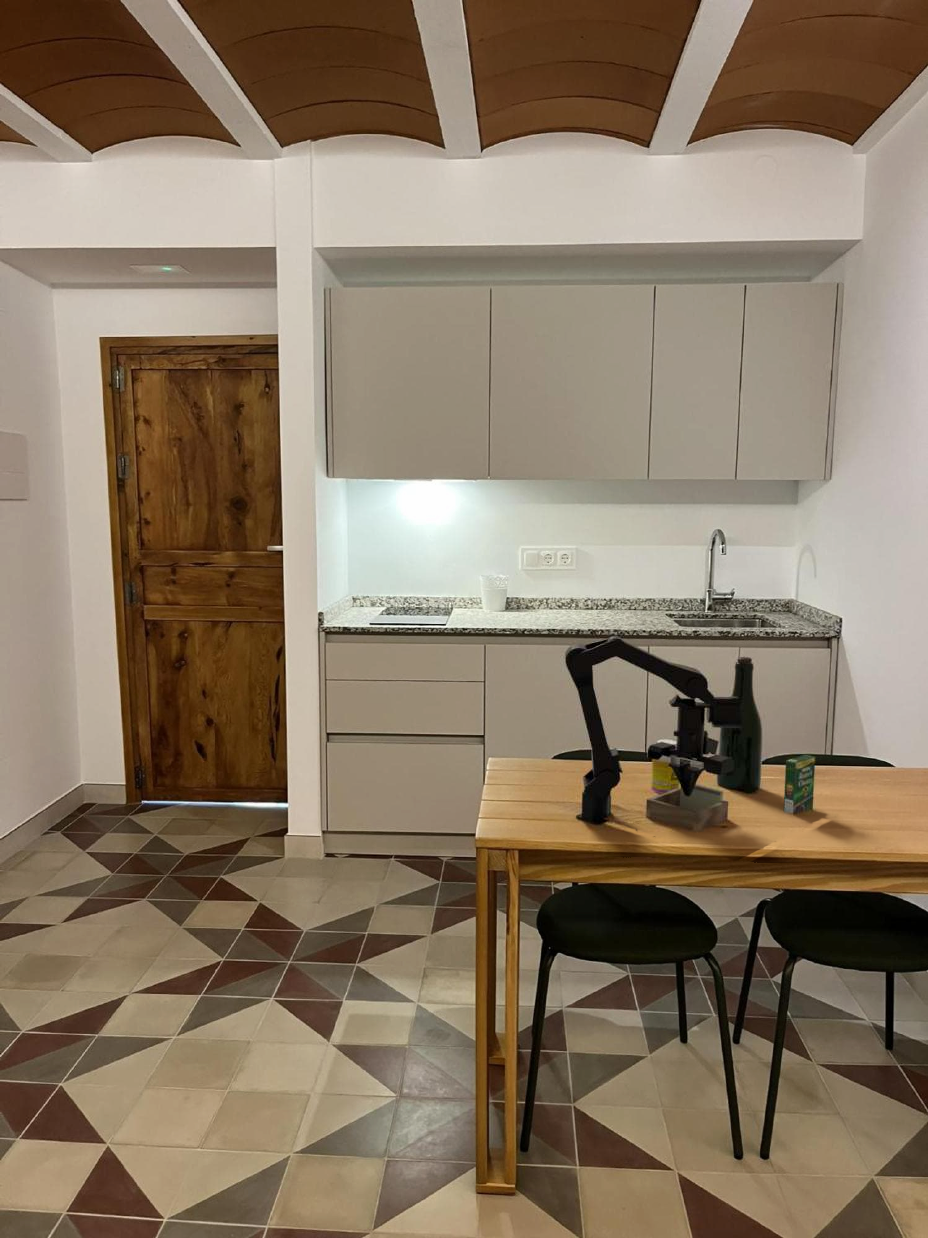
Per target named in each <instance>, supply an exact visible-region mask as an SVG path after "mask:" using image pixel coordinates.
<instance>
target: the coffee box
mask: <svg viewBox="0 0 928 1238" xmlns="http://www.w3.org/2000/svg"><path fill="white" fill-rule="evenodd" d="M815 765H816V757H815V756H812V755H809V754H803V755H800V756H797V757H794V758H790V759H787V760H785V774H784V775H785V776H784V796H783V797H784V798H783V812H784V813H787V814H791V815H796V814H799V813H802V812H807V811H808V810H810V811H814V789H815V772H816V771H815V767H816V766H815Z"/></svg>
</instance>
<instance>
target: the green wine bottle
mask: <svg viewBox="0 0 928 1238" xmlns="http://www.w3.org/2000/svg"><path fill="white" fill-rule="evenodd" d="M752 659H753V658H751V657H748V656H739V657H737V660H736V662H735V664H734V682H733V689H732V694H731V696H735V697H738V698H739V699H740V701H739V704H740V709H741V714H742V720H741V726H740V728H720V729H719V739H718V741H719V743H718V754H717V755H721V756H726V757H730V758H731V759H732V760H733V762H734V770H733V771H730V772H728V773H725V774H722V775H716V785H717V787H719V788H723V789H726V790H729V791H736V792H739V793H743V794H747V795H748V794H749V795H750V794H755V793H757V792H758V791H760V790H761V785H762V768H763V767H762V763H763V725H762V718H761V716H760V714H759V713H760V712H759V710H758V707H757V704H756V700H755V696H754V695H755V694H754V682H753V681H754V677H753V676H754V668H755V667H754V663H753V662H752V661H753V660H752Z"/></svg>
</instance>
